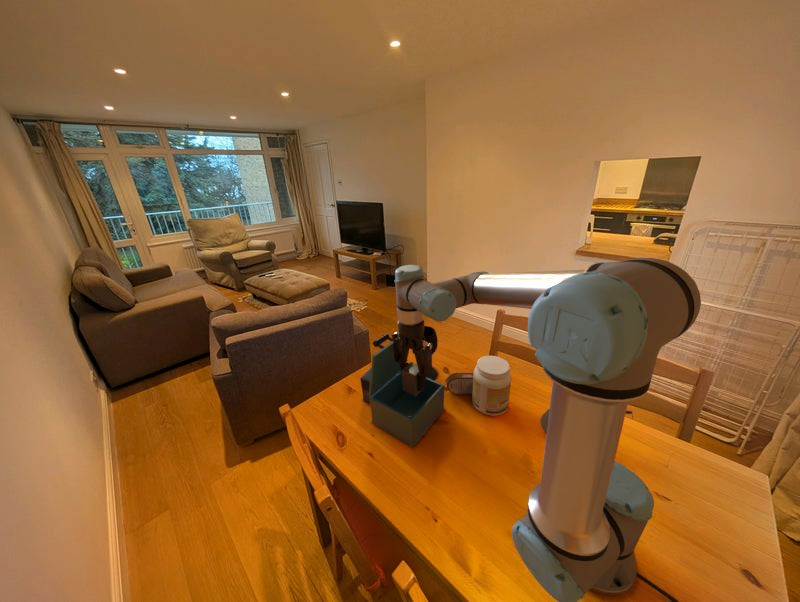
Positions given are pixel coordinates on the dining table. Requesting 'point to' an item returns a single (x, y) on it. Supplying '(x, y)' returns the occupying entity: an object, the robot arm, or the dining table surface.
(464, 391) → the tin
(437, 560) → the dining table surface
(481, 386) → the supplement tub
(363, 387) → the small box
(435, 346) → the wine glass
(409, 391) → the block
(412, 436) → the teal open box
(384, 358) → the lid
